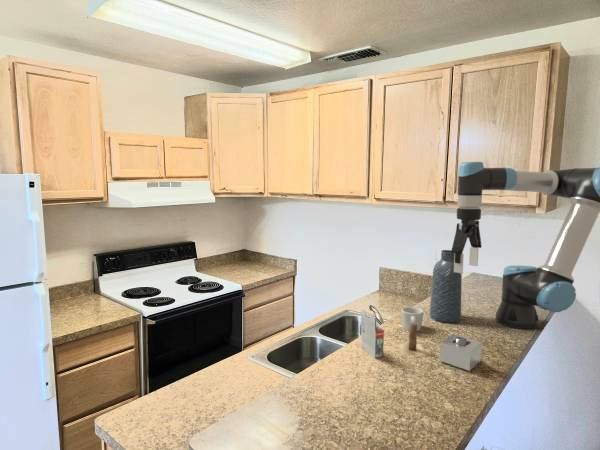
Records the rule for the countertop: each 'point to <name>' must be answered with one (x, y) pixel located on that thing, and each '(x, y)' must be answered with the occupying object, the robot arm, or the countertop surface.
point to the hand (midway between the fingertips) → (466, 269)
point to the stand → (412, 343)
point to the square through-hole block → (460, 352)
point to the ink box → (371, 336)
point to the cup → (412, 317)
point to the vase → (446, 290)
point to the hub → (460, 343)
